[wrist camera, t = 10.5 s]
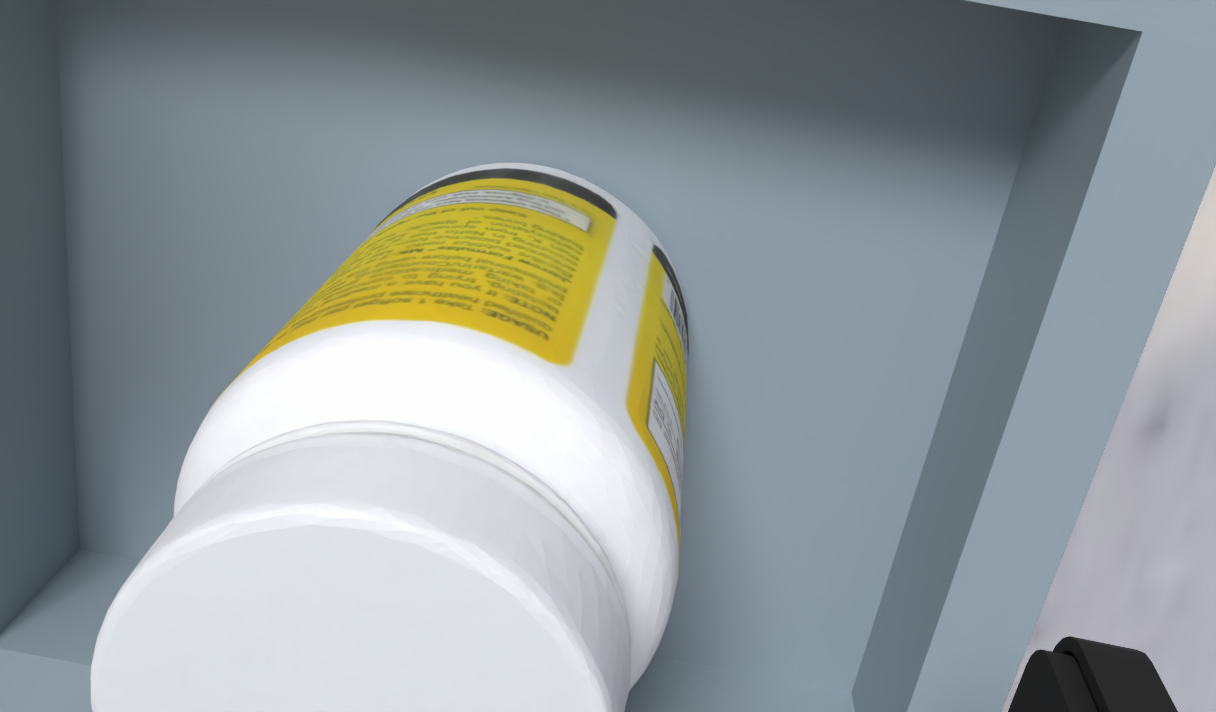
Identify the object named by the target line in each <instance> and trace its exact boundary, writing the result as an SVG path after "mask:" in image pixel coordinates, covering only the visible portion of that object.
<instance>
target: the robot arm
mask: <svg viewBox="0 0 1216 712" xmlns="http://www.w3.org/2000/svg"><path fill="white" fill-rule="evenodd" d="M1008 712H1178V711H1177V709H1176V707H1175V705H1174V704H1173V702H1172V700H1171V698H1170V696H1169V694H1168V692H1167V690H1166V688H1165V686H1164V684H1163V683H1162V681H1161V679H1160V677H1159V675H1158V673H1157V671H1156V669H1155V667H1154V665H1153V663H1152V662H1151V660H1150V659H1149V658H1148V657H1147V655H1146V654H1145V653H1143V652H1141V651H1138V650H1134V649H1130V648H1125V647H1120V646H1115V645H1110V644H1105V643H1100V642H1095V641H1090V640H1085V639H1080V638H1075V637H1070V636H1069V637H1066V638H1063V639H1062V640H1061V641H1060V642H1059V643H1058V644H1057V645H1056V646H1055V648H1054V650H1053V652H1051V651H1046V650H1037V651H1035V652H1034V653H1033V654H1032V655H1031V657H1030V659H1029V661H1028V663H1027V665H1026V667H1025V670H1024V672H1023V675H1022V677H1021V680H1020V683H1019V685H1018V688H1017V690H1016V693H1015V695H1014V698H1013V700H1012V703H1011V705H1010V708H1009V711H1008Z"/></svg>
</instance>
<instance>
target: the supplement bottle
mask: <svg viewBox="0 0 1216 712" xmlns="http://www.w3.org/2000/svg"><path fill="white" fill-rule="evenodd" d="M688 339H689V334H688V317H687V308H686V303H685V298H684V293H683V290H682V286H681V283H680V280H679V278H678V275H677V272H676V270H675V268H674V266H673V263H672V262H671V260H670V258H669V256H668V254H667V252H666V251H665V249H664V247H663V246H662V244H661V243H660V241H659V240H658V239H657V237H656V236H655V235H654V233H653V232H652V231H651V230H650V228H649V227H648V226H647V225H646V224H645V223H644V222H643V221H642V219H641V218H640V217H639V216H638V215H636V214H635V213H634V212H633V211H632V210H631V209H630V208H629V207H627V206H626V205H625V204H623V203H622V202H621V201H619V200H618V199H616V198H615V197H614V196H612V195H611V194H609V193H608V192H606V191H605V190H603V189H602V188H600V187H598V186H596V185H594V184H592V183H590V182H588V181H586V180H584V179H583V178H580V177H577V176H575V175H572V174H570V173H567V172H564V171H562V170H559V169H555V168H551V167H546V166H541V165H536V164H527V163H493V164H485V165H479V166H475V167H470V168H466V169H463V170H459V171H456V172H454V173H451V174H448V175H446V176H444V177H442V178H439V179H437V180H435V181H433V182H431V183H429V184H427V185H426V186H424V187H422V188H421V189H419V190H418V191H416V192H415V193H414V194H412V195H411V196H410V197H408V198H407V199H406V200H404V201H403V202H402V203H401V204H400V205H399V206H398V207H396V208H395V209H394V210H393V211H392V212H391V213H390V214H389V215H388V216H387V217H386V218H385V219H383V220H382V221H381V222H380V223H379V224H378V225H377V227H376V228H375V229H374V230H373V231H372V232H371V234H370V235H369V236H368V237H367V238H366V239H365V240H364V241H363V242H362V243H361V244H360V246H359V247H358V248H357V249H356V250H355V251H354V252H353V253H352V254H351V255H350V256H349V257H348V258H347V260H346V261H345V262H344V263H343V264H342V265H341V266H340V267H339V268H338V269H337V270H336V271H335V272H334V273H333V275H332V276H331V277H330V278H329V279H328V280H327V281H326V282H325V283H324V284H323V285H322V286H321V287H320V288H319V290H318V291H317V292H316V293H315V294H314V295H313V296H312V297H311V298H310V299H309V300H308V301H307V302H306V303H305V305H304V306H303V307H302V308H301V309H300V310H299V311H298V312H297V313H296V314H295V315H294V316H293V317H292V318H291V320H290V321H289V322H288V323H287V324H286V325H285V326H284V327H283V328H282V329H281V330H280V331H279V332H278V333H277V334H276V335H275V336H274V337H273V338H272V340H271V341H270V342H269V343H268V344H267V345H266V346H265V347H264V348H263V349H262V351H261V352H260V353H259V354H258V355H257V356H256V357H255V358H254V359H253V360H252V361H251V362H250V363H249V364H248V365H247V366H246V367H245V369H244V370H243V371H242V372H241V373H240V374H239V375H238V376H237V377H236V378H235V379H234V380H233V381H232V383H231V384H230V385H229V386H228V387H227V388H226V389H225V390H224V391H223V392H222V393H221V395H220V396H219V397H218V399H217V400H216V401H215V403H214V404H213V406H212V407H211V408H210V410H209V412H208V413H207V415H206V417H205V419H204V420H203V422H202V424H201V426H200V427H199V429H198V431H197V433H196V435H195V437H194V439H193V441H192V443H191V444H190V446H189V449H188V451H187V454H186V456H185V459H184V462H183V465H182V468H181V471H180V475H179V478H178V483H177V489H176V495H175V501H174V517H173V519H172V520H171V521H170V523H169V524H168V526H167V527H166V529H165V530H164V531H163V533H162V534H161V535H160V536H159V538H158V539H157V540H156V541H155V543H154V544H153V545H152V546H151V548H150V549H149V550H148V552H147V553H146V554H145V556H144V557H143V558H142V560H141V561H140V562H139V564H138V565H137V566H136V568H135V569H134V570H133V572H132V573H131V575H130V576H129V577H128V579H127V580H126V581H125V583H124V584H123V586H122V587H121V588H120V590H119V592H118V594H117V595H116V597H115V599H114V601H113V602H112V604H111V606H110V607H109V609H108V611H107V614H106V616H105V619H104V621H103V624H102V626H101V629H100V631H99V634H98V637H97V640H96V645H95V650H94V655H93V659H92V664H91V675H90V680H91V706H92V711H93V712H624V711H625V706H626V702H627V698H628V694H629V691H630V689H631V688H632V687H633V686H634V684H635V683H636V682H637V681H638V679H639V678H640V677H641V676H642V674H643V673H644V672H645V670H646V668H647V666H648V665H649V663H650V661H651V659H652V657H653V655H654V653H655V651H656V650H657V648H658V646H659V643H660V641H661V638H662V636H663V633H664V630H665V628H666V625H667V622H668V619H669V616H670V612H671V609H672V604H673V599H674V595H675V591H676V586H677V581H678V576H679V547H680V536H681V527H680V523H681V500H682V476H683V458H684V436H685V419H686V388H687V365H688V354H689V341H688Z"/></svg>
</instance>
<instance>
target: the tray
mask: <svg viewBox="0 0 1216 712" xmlns="http://www.w3.org/2000/svg"><path fill="white" fill-rule="evenodd" d="M493 163H527V164H536V165H541V166H546V167H551V168H555V169H559V170H562V171H564V172H567V173H570V174H572V175H575V176H577V177H580V178H583V179H584V180H586V181H588V182H590V183H592V184H594V185H596V186H598V187H600V188H602V189H603V190H605V191H606V192H608V193H609V194H611V195H612V196H614V197H615V198H616V199H618V200H619V201H621V202H622V203H623V204H625V205H626V206H627V207H629V208H630V209H631V210H632V211H633V212H634V213H635V214H636V215H638V216H639V217H640V218H641V219H642V221H643V222H644V223H645V224H646V225H647V226H648V227H649V228H650V230H651V231H652V232H653V233H654V235H655V236H656V237H657V239H658V240H659V241H660V243H661V244H662V246H663V247H664V249H665V251H666V252H667V254H668V256H669V258H670V260H671V262H672V263H673V266H674V268H675V270H676V272H677V275H678V278H679V280H680V283H681V286H682V290H683V293H684V298H685V303H686V308H687V317H688V334H689V339H688V341H689V354H688V365H687V388H686V419H685V436H684V458H683V476H682V500H681V523H680V527H681V536H680V547H679V576H678V581H677V586H676V591H675V595H674V599H673V604H672V609H671V612H670V616H669V619H668V622H667V625H666V628H665V630H664V633H663V636H662V638H661V641H660V643H659V646H658V648H657V650H656V651H655V653H654V655H653V657H652V659H651V661H650V663H649V665H648V666H647V668H646V670H645V672H644V673H643V674H642V676H641V677H640V678H639V679H638V681H637V682H636V683H635V684H634V686H633V687H632V688H631V689H630V691H629V694H628V698H627V702H626V706H625V711H624V712H1002V709H1003V707H1004V704H1005V702H1006V699H1007V697H1008V694H1009V692H1010V689H1011V686H1012V684H1013V681H1014V679H1015V676H1016V674H1017V671H1018V669H1019V666H1020V663H1021V661H1022V658H1023V656H1024V653H1025V651H1026V648H1027V646H1028V643H1029V640H1030V638H1031V635H1032V633H1033V630H1034V628H1035V625H1036V623H1037V620H1038V617H1039V615H1040V612H1041V610H1042V607H1043V605H1044V602H1045V600H1046V597H1047V594H1048V592H1049V589H1050V587H1051V584H1052V582H1053V579H1054V577H1055V574H1056V571H1057V569H1058V566H1059V564H1060V561H1061V559H1062V556H1063V554H1064V551H1065V548H1066V546H1067V543H1068V541H1069V538H1070V536H1071V533H1072V531H1073V528H1074V525H1075V523H1076V520H1077V518H1078V515H1079V513H1080V510H1081V508H1082V505H1083V502H1084V500H1085V497H1086V495H1087V492H1088V490H1089V487H1090V485H1091V482H1092V479H1093V477H1094V474H1095V472H1096V469H1097V467H1098V464H1099V462H1100V459H1101V456H1102V454H1103V451H1104V449H1105V446H1106V444H1107V441H1108V439H1109V436H1110V433H1111V431H1112V428H1113V426H1114V423H1115V421H1116V418H1117V416H1118V413H1119V410H1120V408H1121V405H1122V403H1123V400H1124V398H1125V395H1126V393H1127V390H1128V387H1129V385H1130V382H1131V380H1132V377H1133V375H1134V372H1135V370H1136V367H1137V364H1138V362H1139V359H1140V357H1141V354H1142V352H1143V349H1144V347H1145V344H1146V341H1147V339H1148V336H1149V334H1150V331H1151V329H1152V326H1153V324H1154V321H1155V318H1156V316H1157V313H1158V311H1159V308H1160V306H1161V303H1162V301H1163V298H1164V295H1165V293H1166V290H1167V288H1168V285H1169V283H1170V280H1171V278H1172V275H1173V272H1174V270H1175V267H1176V265H1177V262H1178V260H1179V257H1180V255H1181V252H1182V250H1183V247H1184V244H1185V242H1186V239H1187V237H1188V234H1189V232H1190V229H1191V227H1192V224H1193V221H1194V219H1195V216H1196V214H1197V211H1198V209H1199V206H1200V204H1201V201H1202V198H1203V196H1204V193H1205V191H1206V188H1207V186H1208V183H1209V181H1210V178H1211V175H1212V173H1213V170H1214V168H1215V165H1216V0H0V712H93V711H92V706H91V680H90V675H91V664H92V659H93V655H94V650H95V645H96V640H97V637H98V634H99V631H100V629H101V626H102V624H103V621H104V619H105V616H106V614H107V611H108V609H109V607H110V606H111V604H112V602H113V601H114V599H115V597H116V595H117V594H118V592H119V590H120V588H121V587H122V586H123V584H124V583H125V581H126V580H127V579H128V577H129V576H130V575H131V573H132V572H133V570H134V569H135V568H136V566H137V565H138V564H139V562H140V561H141V560H142V558H143V557H144V556H145V554H146V553H147V552H148V550H149V549H150V548H151V546H152V545H153V544H154V543H155V541H156V540H157V539H158V538H159V536H160V535H161V534H162V533H163V531H164V530H165V529H166V527H167V526H168V524H169V523H170V521H171V520H172V519H173V517H174V501H175V495H176V489H177V483H178V478H179V475H180V471H181V468H182V465H183V462H184V459H185V456H186V454H187V451H188V449H189V446H190V444H191V443H192V441H193V439H194V437H195V435H196V433H197V431H198V429H199V427H200V426H201V424H202V422H203V420H204V419H205V417H206V415H207V413H208V412H209V410H210V408H211V407H212V406H213V404H214V403H215V401H216V400H217V399H218V397H219V396H220V395H221V393H222V392H223V391H224V390H225V389H226V388H227V387H228V386H229V385H230V384H231V383H232V381H233V380H234V379H235V378H236V377H237V376H238V375H239V374H240V373H241V372H242V371H243V370H244V369H245V367H246V366H247V365H248V364H249V363H250V362H251V361H252V360H253V359H254V358H255V357H256V356H257V355H258V354H259V353H260V352H261V351H262V349H263V348H264V347H265V346H266V345H267V344H268V343H269V342H270V341H271V340H272V338H273V337H274V336H275V335H276V334H277V333H278V332H279V331H280V330H281V329H282V328H283V327H284V326H285V325H286V324H287V323H288V322H289V321H290V320H291V318H292V317H293V316H294V315H295V314H296V313H297V312H298V311H299V310H300V309H301V308H302V307H303V306H304V305H305V303H306V302H307V301H308V300H309V299H310V298H311V297H312V296H313V295H314V294H315V293H316V292H317V291H318V290H319V288H320V287H321V286H322V285H323V284H324V283H325V282H326V281H327V280H328V279H329V278H330V277H331V276H332V275H333V273H334V272H335V271H336V270H337V269H338V268H339V267H340V266H341V265H342V264H343V263H344V262H345V261H346V260H347V258H348V257H349V256H350V255H351V254H352V253H353V252H354V251H355V250H356V249H357V248H358V247H359V246H360V244H361V243H362V242H363V241H364V240H365V239H366V238H367V237H368V236H369V235H370V234H371V232H372V231H373V230H374V229H375V228H376V227H377V225H378V224H379V223H380V222H381V221H382V220H383V219H385V218H386V217H387V216H388V215H389V214H390V213H391V212H392V211H393V210H394V209H395V208H396V207H398V206H399V205H400V204H401V203H402V202H403V201H404V200H406V199H407V198H408V197H410V196H411V195H412V194H414V193H415V192H416V191H418V190H419V189H421V188H422V187H424V186H426V185H427V184H429V183H431V182H433V181H435V180H437V179H439V178H442V177H444V176H446V175H448V174H451V173H454V172H456V171H459V170H463V169H466V168H470V167H475V166H479V165H485V164H493Z"/></svg>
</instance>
